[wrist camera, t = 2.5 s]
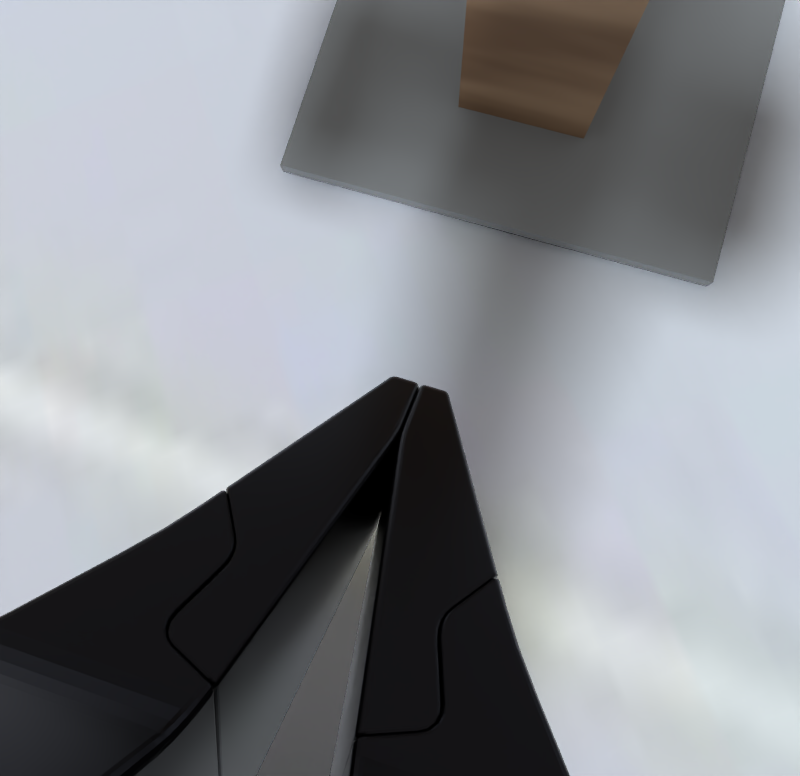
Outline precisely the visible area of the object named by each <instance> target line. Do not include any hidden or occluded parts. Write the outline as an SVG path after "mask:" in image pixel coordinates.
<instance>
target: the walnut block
mask: <svg viewBox="0 0 800 776" xmlns="http://www.w3.org/2000/svg"><path fill="white" fill-rule="evenodd" d="M648 2H649V0H467V3H466V16H465V29H464V41H463V54H462V67H461V79H460V92H459V105H458V107H461V108H465V109H469V110H473V111H477V112H481V113H485V114H489V115H492V116H496V117H500V118H504V119H508V120H512V121H516V122H520V123H524V124H528V125H532V126H536V127H539V128H543V129H547V130H551V131H555V132H559V133H563V134H567V135H571V136H575V137H579V138H583V139H584V137H585V135H586V133H587V131H588V128H589V126H590V124H591V122H592V120H593V118H594V116H595V114H596V112H597V110H598V107H599V105H600V103H601V101H602V99H603V97H604V95H605V93H606V91H607V88H608V86H609V84H610V82H611V80H612V78H613V76H614V74H615V72H616V69H617V67H618V65H619V63H620V61H621V59H622V57H623V55H624V53H625V51H626V48H627V46H628V44H629V42H630V40H631V38H632V36H633V34H634V32H635V29H636V27H637V25H638V23H639V21H640V19H641V17H642V15H643V13H644V11H645V8H646V6H647V4H648Z"/></svg>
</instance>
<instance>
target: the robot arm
mask: <svg viewBox="0 0 800 776" xmlns="http://www.w3.org/2000/svg"><path fill="white" fill-rule="evenodd" d="M379 518H380V519H379ZM378 520H379V524H378V528H377V532H376V537H375V541H374V547H373V552H372V557H371V562H370V568H369V573H368V578H367V583H366V589H365V594H364V599H363V604H362V610H361V615H360V620H359V625H358V631H357V636H356V641H355V646H354V652H353V657H352V662H351V667H350V673H349V678H348V683H347V688H346V694H345V699H344V704H343V709H342V715H341V720H340V725H339V730H338V736H337V741H336V746H335V751H334V757H333V762H332V767H331V772H330V776H570V775H569V773H568V770H567V768H566V765H565V763H564V760H563V758H562V755H561V753H560V750H559V748H558V746H557V743H556V741H555V738H554V736H553V733H552V731H551V728H550V726H549V723H548V721H547V719H546V716H545V714H544V711H543V709H542V706H541V704H540V701H539V699H538V696H537V694H536V691H535V689H534V686H533V683H532V681H531V678H530V675H529V673H528V670H527V667H526V665H525V662H524V659H523V657H522V654H521V651H520V649H519V646H518V642H517V639H516V636H515V633H514V630H513V626H512V623H511V620H510V617H509V613H508V610H507V607H506V603H505V599H504V596H503V592H502V588H501V585H500V581H499V580H498V579H496V578H497V571H496V567H495V564H494V560H493V556H492V553H491V549H490V545H489V542H488V538H487V534H486V531H485V527H484V523H483V520H482V516H481V512H480V509H479V505H478V501H477V498H476V494H475V490H474V487H473V483H472V479H471V476H470V472H469V468H468V464H467V461H466V457H465V453H464V450H463V446H462V442H461V439H460V435H459V431H458V428H457V424H456V420H455V417H454V413H453V409H452V406H451V402H450V398H449V395H448V393H447V392H445V391H443V390H439V389H436V388H432V387H429V386H426V385H423V386H421V387H420V388H419V386H418V384H417V383H415V382H412V381H409V380H406V379H402V378H399V377H390V378H389V379H387V380H386V381H384V382H383V383H381V384H380V385H378V386H377V387H375V388H374V389H372V390H371V391H369V392H368V393H367V394H365V395H364V396H362V397H361V398H359V399H358V400H356V401H355V402H353V403H352V404H350V405H349V406H347V407H346V408H344V409H343V410H341V411H340V412H338V413H337V414H335V415H334V416H332V417H331V418H329V419H328V420H327V421H325V422H324V423H322V424H321V425H319V426H318V427H316V428H315V429H313V430H312V431H310V432H309V433H307V434H306V435H304V436H303V437H301V438H300V439H298V440H297V441H295V442H294V443H292V444H291V445H289V446H288V447H287V448H285V449H284V450H282V451H281V452H279V453H278V454H276V455H275V456H273V457H272V458H270V459H269V460H267V461H266V462H264V463H263V464H261V465H260V466H258V467H257V468H255V469H254V470H252V471H251V472H249V473H248V474H247V475H245V476H244V477H242V478H241V479H239V480H238V481H236V482H235V483H233V484H232V485H230V486H229V487H227V489H226V492H225V491H221V492H219V493H218V494H216V495H215V496H213V497H212V498H210V499H209V500H208V501H206V502H205V503H203V504H202V505H200V506H199V507H197V508H195V509H194V510H192V511H191V512H189V513H188V514H186V515H184V516H183V517H181V518H180V519H178V520H176V521H175V522H173V523H172V524H170V525H169V526H167V527H165V528H164V529H162V530H160V531H159V532H157V533H155V534H153V535H151V536H150V537H148V538H146V539H144V540H143V541H141V542H139V543H137V544H135V545H134V546H132V547H130V548H128V549H127V550H125V551H123V552H121V553H119V554H118V555H116V556H114V557H112V558H110V559H108V560H106V561H104V562H103V563H101V564H99V565H97V566H95V567H93V568H91V569H89V570H88V571H86V572H84V573H82V574H80V575H78V576H76V577H74V578H73V579H71V580H69V581H67V582H65V583H63V584H61V585H59V586H58V587H56V588H54V589H52V590H50V591H48V592H46V593H44V594H43V595H41V596H39V597H37V598H35V599H33V600H31V601H29V602H28V603H26V604H24V605H22V606H20V607H18V608H16V609H14V610H12V611H11V612H9V613H7V614H5V615H3V616H1V617H0V776H256V775H257V773H258V771H259V769H260V767H261V765H262V762H263V760H264V758H265V756H266V754H267V752H268V750H269V748H270V746H271V744H272V742H273V740H274V738H275V736H276V734H277V731H278V729H279V727H280V725H281V723H282V721H283V719H284V717H285V715H286V713H287V711H288V709H289V707H290V705H291V702H292V700H293V698H294V696H295V694H296V692H297V690H298V688H299V686H300V684H301V682H302V680H303V678H304V676H305V674H306V671H307V669H308V667H309V665H310V663H311V661H312V659H313V657H314V655H315V653H316V651H317V649H318V647H319V645H320V643H321V640H322V638H323V636H324V634H325V632H326V630H327V628H328V626H329V624H330V622H331V620H332V618H333V616H334V614H335V611H336V609H337V607H338V605H339V603H340V601H341V599H342V597H343V595H344V593H345V591H346V589H347V587H348V585H349V583H350V580H351V578H352V576H353V574H354V572H355V570H356V568H357V566H358V564H359V562H360V560H361V558H362V556H363V554H364V551H365V549H366V547H367V545H368V543H369V541H370V539H371V537H372V535H373V532H374V530H375V528H376V526H377V523H378Z"/></svg>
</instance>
